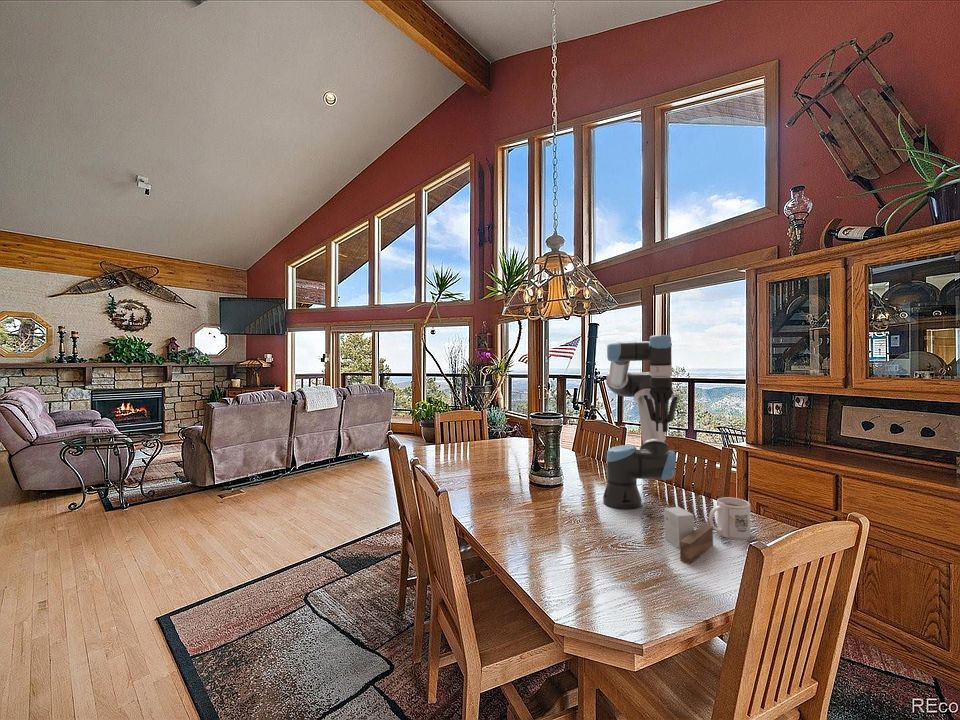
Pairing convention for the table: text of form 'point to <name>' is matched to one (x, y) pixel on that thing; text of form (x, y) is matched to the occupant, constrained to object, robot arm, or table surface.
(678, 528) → the small box
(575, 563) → the table surface
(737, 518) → the mug
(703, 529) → the board
